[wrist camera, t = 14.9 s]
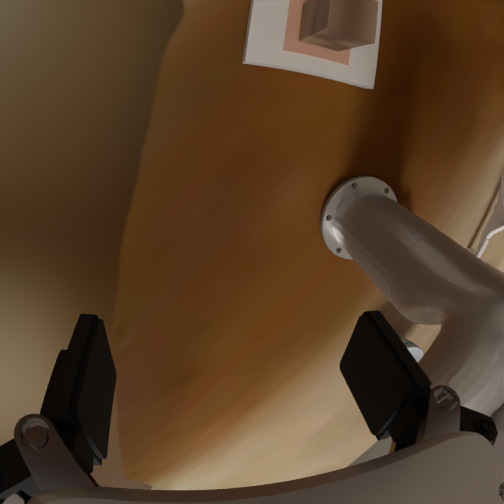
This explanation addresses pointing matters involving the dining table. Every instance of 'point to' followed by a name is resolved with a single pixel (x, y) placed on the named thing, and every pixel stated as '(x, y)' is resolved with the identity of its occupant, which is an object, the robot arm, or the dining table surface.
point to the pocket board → (304, 46)
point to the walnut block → (339, 23)
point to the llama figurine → (492, 223)
